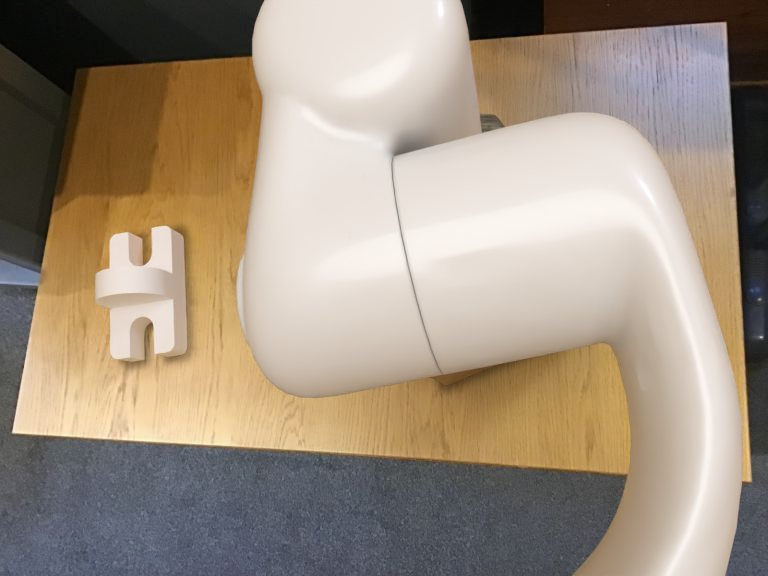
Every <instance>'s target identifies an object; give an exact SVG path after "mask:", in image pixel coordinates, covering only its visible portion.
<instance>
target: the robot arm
mask: <svg viewBox="0 0 768 576" xmlns="http://www.w3.org/2000/svg"><path fill="white" fill-rule="evenodd" d="M469 34H470V33H469V28H468V24H467V20H466V15H465V10H464V8H463V4H462V1H461V0H264V1H263V2H262V4H261V6H260V9H259V11H258V15H257V17H256V20H255V23H254V28H253V33H252V38H251V56H252V57H251V58H252V59H251V61H252V66H253V72H254V77H255V79H256V80H255V81H256V83H257V85H258V88H259V90H260V95H261V99H262V100H261V102H262V104H261V105H262V106H261V115H260V116H261V118H260V126H259V137H258V146H257V156H256V162H255V170H254V177H253V185H252V190H251V191H252V192H251V199H250V207H249V212H248V221H247V226H246V227H247V228H246V234H245V242H244V252H243V254H242V256H241V259H240V261H239V263H238V268H237V273H236V283H235V301H236V309H237V317H238V320H239V326H240V328H241V332H242V334H243V336H244V340H245V341H246V344H247V345H248V347H249V348H250V350H251V354H252V357H253V359H254V361H255V363H256V365H257V367H258V368H259V370H260V372H261V374H262V375H263V376H264V378H265V379H266V380H267V381H268V382H269V383H270V384H271V385H273V387H275V388H276V389H278V390H279V391H280V392H282V393H285V394H288V395H291V396H294V397H298V398H303V399H305V398H306V399H321V398H334V397H339V396H344V395H349V394H353V393H359V392H363V391H369V390H374V389H377V388H383V387H388V386H394V385H398V384H404V383H408V382H414V381H417V380H423V379H428V378H431V377H434V376H438V375H445V374H450V373H456V372H461V371H466V370H471V369H477V368H482V367H487V366H492V365H496V366H498V365H501V364H507V363H511V362H516V361H522V360H525V359H532V358H536V357H541V356H547V355H551V354H556V353H561V352H566V351H571V350H576V349H581V348H586V347H591V346H594V345H599V344H605V345H608V346H609V347H610V348H611V351H612V352H613V355H614V357H615V359H616V363H617V366H618V370H619V375H620V378H621V381H622V386H623V390H624V394H625V398H626V406H627V407H626V408H627V414H628V422H629V429H630V433H629V434H630V449H629V463H628V469H627V475H626V480H625V485H624V488H623V492H622V495H621V498H620V501H619V505H618V507H617V509H616V511H615V514H614V516H613V519H612V520H611V523H610V525H609V527H608V529H607V530H606V532H605V533H604V535H603V536H602V538H601V540H600V542H599V543H598V544H597V545H596V547H595V548H594V550H593V551H592V552H591V554H589V556H588V557H587V558H586V559H585V561H584V562H583V563H581V565H580V566H579V567H578V568H577V569H576V570H575V571H574V573H572V575H571V576H726V574H727V570H728V565H729V561H730V557H731V553H732V549H733V544H734V540H735V537H736V533H737V529H738V528H737V527H738V518H739V511H740V501H741V493H742V486H743V456H744V454H743V449H744V439H743V430H742V414H741V407H740V400H739V395H738V389H737V381H736V378H735V374H734V371H733V367H732V362H731V359H730V356H729V352H728V349H727V344H726V341H725V338H724V335H723V332H722V329H721V326H720V321H719V319H718V316H717V313H716V310H715V307H714V303H713V300H712V297H711V294H710V293H711V292H710V290H709V286H708V284H707V280H706V277H705V274H704V271H703V268H702V265H701V260H700V257H699V255H698V251H697V248H696V244H695V242H694V239H693V236H692V233H691V229H690V227H689V224H688V221H687V218H686V215H685V212H684V209H683V207H682V204H681V201H680V199H679V197H678V195H677V192H676V190H675V187H674V185H673V182H672V180H671V178H670V176H669V174H668V171H667V169H666V167H665V164H664V163H663V162H662V159H661V158H660V156H659V154H658V153H657V151H656V150H655V148H654V147H653V146H652V144H651V142H649V140H648V139H647V138H646V137H645V136H644V135H643V134H642V133H641V132H640V131H639V130H638V129H636V128H635V127H634V126H633V125H631V124H629V123H628V122H626V121H625V120H622V119H620V118H618V117H615V116H613V115H609V114H604V113H600V112H587V111H578V112H577V111H576V112H565V113H560V114H556V115H551V116H545V117H541V118H538V119H533V120H528V121H525V122H521V123H517V124H513V125H507V126H505V127H504V128H500V129H496V130H492V131H488V132H484V133H482V129H481V121H480V114H481V113H480V108H479V107H480V106H479V101H478V94H477V86H476V85H477V84H476V80H475V79H476V78H475V70H474V63H473V55H472V49H471V41H470V35H469ZM497 364H498V365H497Z"/></svg>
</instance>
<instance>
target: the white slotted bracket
mask: <svg viewBox="0 0 768 576" xmlns="http://www.w3.org/2000/svg"><path fill="white" fill-rule="evenodd" d="M143 242H144V241H143V238H141V237H140V236H138V235H135V234H133V233H132V232H129V231H125V232H120V233H116V234H113V235H112V236H111V237H110V239H109V244H108V245H109V247H108V248H109V268H105V269H102V270H99V271H97V272H96V273H95V275H94V288H95V290H94V303H95V304H96V305H97V306H100V307H103V308H105V309H109V348H110V349H109V355H110V356H111V357H112V359H114V360H120V361H126V362H131V363H134V362H142V361H146V360H145V359H146V355H145V354H146V353H145V352H146V351H145V332H146V329H147V327H148V326H149V325H150V324H151V323H152V324H153V350H154V351H153V353H154V354H153V355H157V356H162V357H167V358H169V357H176V356H177V357H178V356H182V355H184V354H185V353H186V352H187V351H188V321H187V293H186V292H187V291H186V290H187V289H186V265H185V264H186V261H185V237H184V236H183V234H182V233H180V232H178V231H176V230H175V229H173V228H171V227H169V226H168V225H159V226H154V227H151V256H150V259H149V261H148V262H146V263H145V264H144V249H143V248H144V247H143V244H144V243H143Z"/></svg>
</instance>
